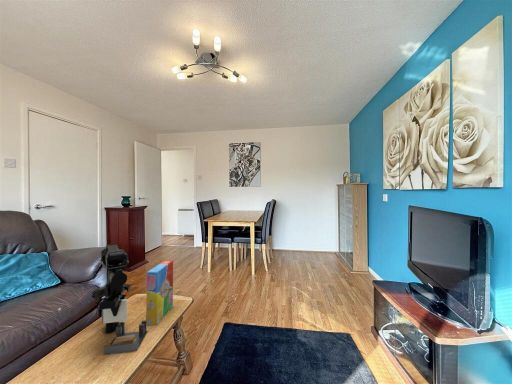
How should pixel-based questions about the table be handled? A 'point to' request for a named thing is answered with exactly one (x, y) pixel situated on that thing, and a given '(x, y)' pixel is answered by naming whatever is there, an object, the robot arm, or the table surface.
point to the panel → (120, 316)
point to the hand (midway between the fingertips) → (115, 315)
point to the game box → (159, 292)
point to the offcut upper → (124, 340)
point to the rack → (121, 332)
